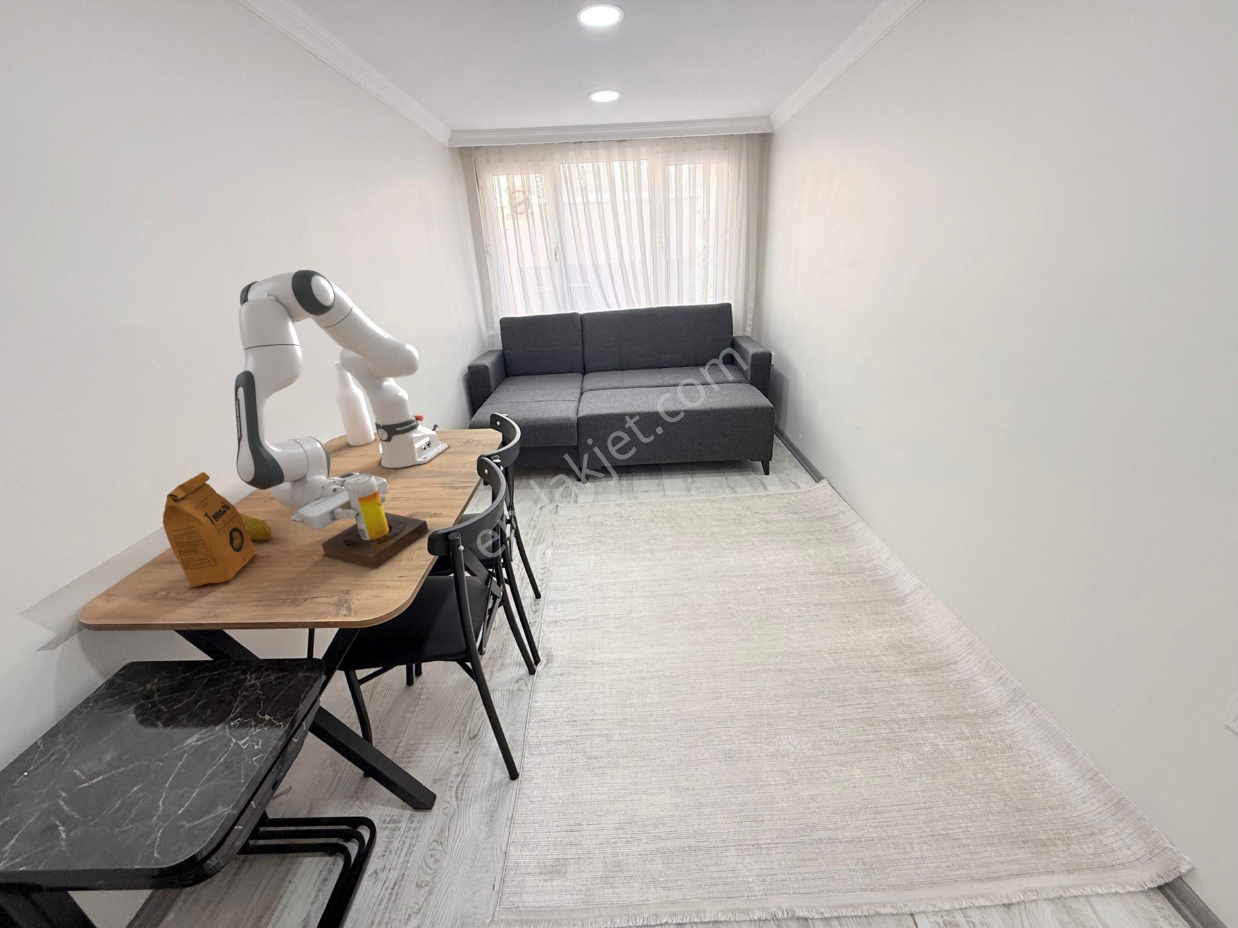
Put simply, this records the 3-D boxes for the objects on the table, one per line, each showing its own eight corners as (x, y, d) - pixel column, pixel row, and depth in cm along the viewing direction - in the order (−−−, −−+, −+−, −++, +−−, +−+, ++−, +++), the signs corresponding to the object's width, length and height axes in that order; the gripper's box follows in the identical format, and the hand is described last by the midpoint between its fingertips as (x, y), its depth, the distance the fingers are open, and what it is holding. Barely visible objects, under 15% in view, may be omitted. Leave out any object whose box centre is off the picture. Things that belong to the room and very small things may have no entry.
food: (206, 534, 125) (196, 513, 122) (229, 523, 130) (220, 503, 127) (262, 547, 117) (254, 525, 115) (284, 535, 122) (276, 514, 120)
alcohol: (366, 436, 189) (344, 358, 177) (380, 440, 184) (358, 359, 173) (344, 444, 182) (320, 363, 170) (357, 447, 178) (334, 365, 166)
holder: (380, 521, 126) (377, 510, 125) (428, 531, 120) (426, 520, 119) (325, 554, 113) (321, 543, 112) (376, 568, 107) (372, 556, 106)
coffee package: (266, 553, 115) (231, 467, 106) (232, 586, 103) (190, 492, 95) (222, 557, 114) (183, 470, 106) (182, 590, 103) (135, 497, 94)
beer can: (395, 530, 118) (380, 473, 112) (377, 544, 112) (360, 485, 106) (374, 528, 119) (358, 471, 113) (355, 541, 114) (337, 483, 108)
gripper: (281, 506, 107) (325, 516, 102) (359, 469, 125) (400, 476, 119) (290, 530, 110) (334, 541, 105) (366, 491, 127) (406, 499, 122)
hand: (370, 506), depth 112 cm, fingers closed on beer can, 6 cm apart
